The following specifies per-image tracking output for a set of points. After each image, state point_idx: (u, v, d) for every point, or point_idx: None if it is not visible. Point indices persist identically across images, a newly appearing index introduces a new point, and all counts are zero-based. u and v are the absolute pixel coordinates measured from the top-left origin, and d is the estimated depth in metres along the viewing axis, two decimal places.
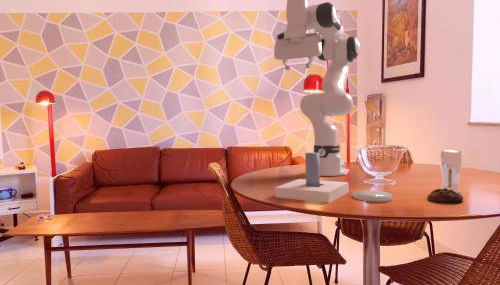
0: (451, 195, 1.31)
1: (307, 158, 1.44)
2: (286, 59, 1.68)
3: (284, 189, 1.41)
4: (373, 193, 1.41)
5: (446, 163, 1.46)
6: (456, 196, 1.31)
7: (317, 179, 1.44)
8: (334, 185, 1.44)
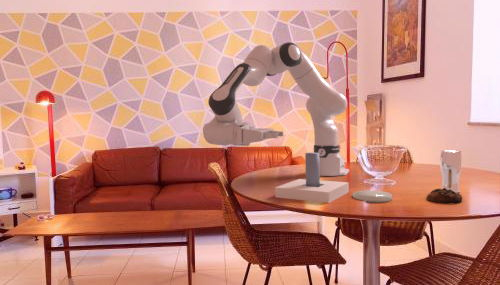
0: (450, 195, 1.31)
1: (307, 158, 1.44)
2: None
3: (284, 189, 1.41)
4: (373, 193, 1.41)
5: (446, 163, 1.46)
6: (455, 196, 1.31)
7: (317, 179, 1.44)
8: (334, 185, 1.44)
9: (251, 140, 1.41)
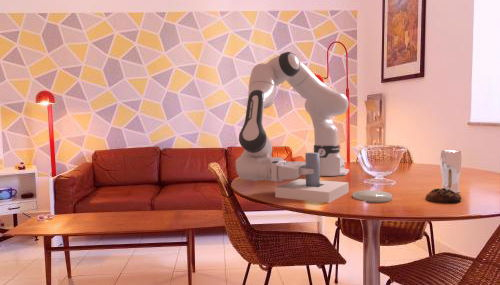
0: (449, 195, 1.31)
1: (307, 158, 1.44)
2: None
3: (284, 189, 1.41)
4: (373, 193, 1.41)
5: (446, 163, 1.46)
6: (454, 196, 1.31)
7: (317, 179, 1.44)
8: (334, 185, 1.44)
9: (287, 177, 1.39)
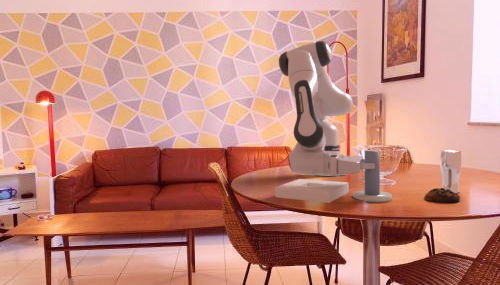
0: (448, 195, 1.32)
1: (367, 156, 1.38)
2: None
3: (284, 189, 1.41)
4: None
5: (446, 163, 1.46)
6: (453, 196, 1.32)
7: (377, 178, 1.38)
8: (334, 185, 1.44)
9: (348, 172, 1.32)
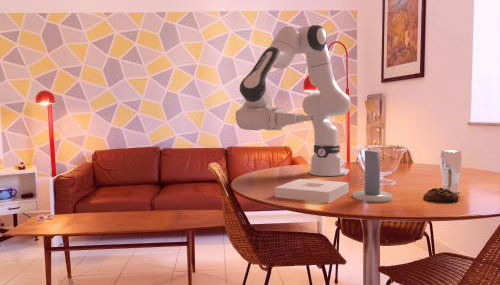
0: (446, 194, 1.32)
1: (367, 156, 1.38)
2: None
3: (284, 189, 1.41)
4: None
5: (446, 163, 1.46)
6: (451, 195, 1.32)
7: (378, 178, 1.38)
8: (334, 185, 1.44)
9: (285, 123, 1.46)
